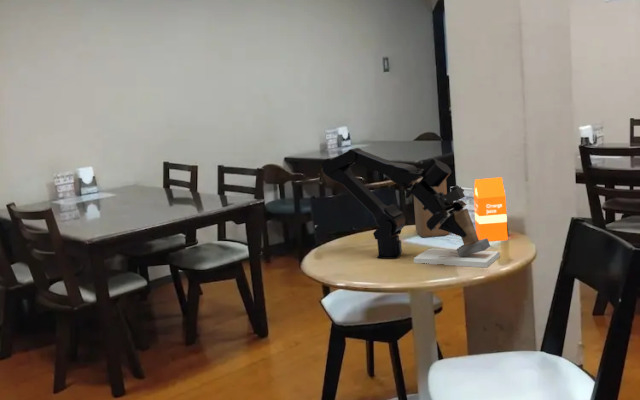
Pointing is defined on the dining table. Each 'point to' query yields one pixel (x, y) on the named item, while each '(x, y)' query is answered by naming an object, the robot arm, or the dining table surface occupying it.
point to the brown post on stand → (469, 235)
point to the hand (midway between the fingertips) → (467, 235)
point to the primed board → (456, 258)
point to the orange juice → (490, 209)
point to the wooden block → (427, 215)
